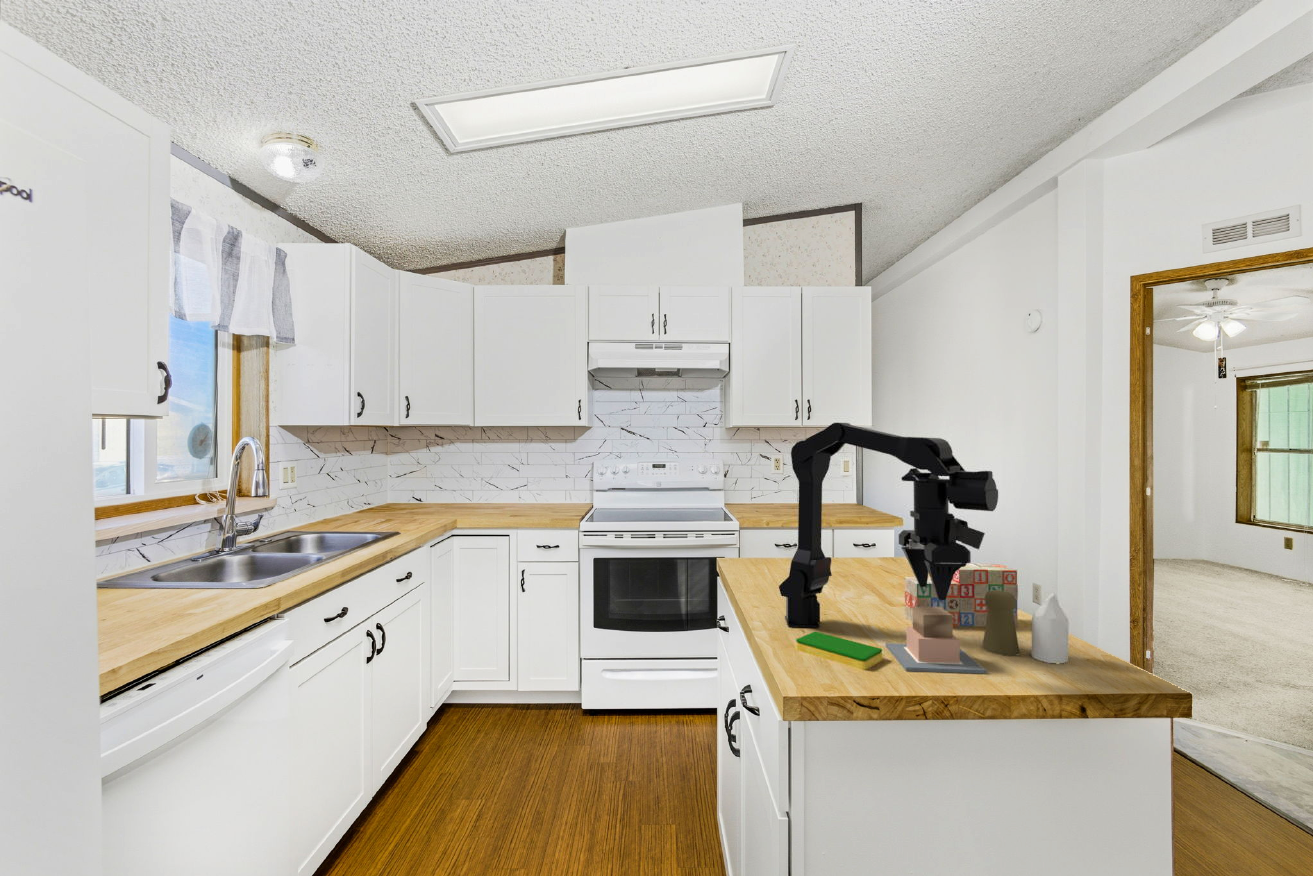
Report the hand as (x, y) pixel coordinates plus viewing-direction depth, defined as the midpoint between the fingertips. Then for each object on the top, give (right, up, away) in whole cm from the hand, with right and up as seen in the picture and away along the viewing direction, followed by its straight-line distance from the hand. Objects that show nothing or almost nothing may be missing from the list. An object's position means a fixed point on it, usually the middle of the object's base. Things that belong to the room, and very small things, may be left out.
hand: (932, 593), depth 104 cm
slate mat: (0, -12, 0) cm, 12 cm away
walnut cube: (0, -7, 0) cm, 7 cm away
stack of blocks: (+16, -12, +21) cm, 30 cm away
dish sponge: (-16, -13, +3) cm, 21 cm away
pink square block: (0, -11, 0) cm, 11 cm away
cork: (+15, -12, +4) cm, 20 cm away
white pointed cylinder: (+21, -12, 0) cm, 25 cm away
